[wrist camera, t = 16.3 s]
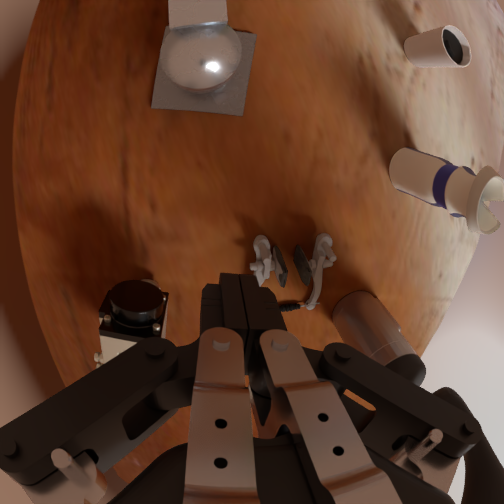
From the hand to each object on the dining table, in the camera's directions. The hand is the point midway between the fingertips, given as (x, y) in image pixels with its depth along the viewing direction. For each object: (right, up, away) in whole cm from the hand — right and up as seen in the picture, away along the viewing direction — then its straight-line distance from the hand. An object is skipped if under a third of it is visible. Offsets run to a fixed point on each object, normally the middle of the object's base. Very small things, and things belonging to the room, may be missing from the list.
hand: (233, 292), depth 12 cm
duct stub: (-6, +25, +19) cm, 32 cm away
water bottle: (+26, +16, +29) cm, 42 cm away
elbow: (-5, +28, +12) cm, 31 cm away
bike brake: (+6, -3, +36) cm, 36 cm away
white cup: (+28, +34, +20) cm, 49 cm away
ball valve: (-17, -6, +33) cm, 38 cm away
